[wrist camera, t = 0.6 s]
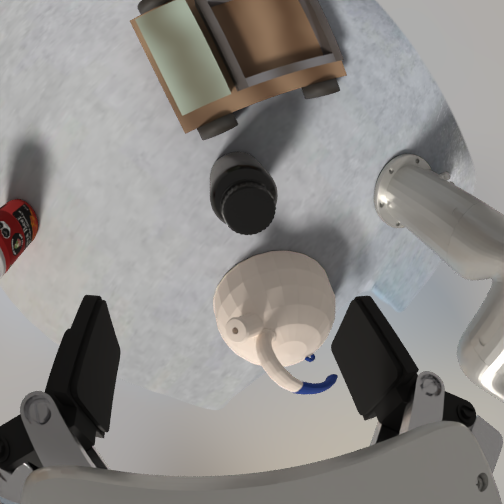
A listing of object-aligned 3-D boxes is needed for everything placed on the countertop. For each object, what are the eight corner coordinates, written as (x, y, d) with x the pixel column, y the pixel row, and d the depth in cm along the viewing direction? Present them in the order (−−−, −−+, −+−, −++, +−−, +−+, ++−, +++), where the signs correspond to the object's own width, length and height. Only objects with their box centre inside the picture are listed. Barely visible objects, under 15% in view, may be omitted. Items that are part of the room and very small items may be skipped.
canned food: (42, 243, 34) (9, 285, 24) (9, 237, 32) (-25, 275, 22) (37, 199, 30) (-4, 234, 21) (3, 195, 28) (-38, 227, 19)
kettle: (267, 223, 38) (307, 313, 23) (350, 286, 47) (397, 363, 32) (187, 311, 45) (186, 407, 29) (275, 350, 54) (295, 428, 38)
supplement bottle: (270, 187, 35) (297, 228, 25) (223, 209, 36) (230, 257, 26) (250, 141, 32) (271, 162, 22) (200, 164, 32) (196, 196, 22)
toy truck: (284, -32, 19) (300, -55, 13) (339, 87, 29) (368, 87, 23) (132, 18, 20) (114, 1, 14) (193, 141, 31) (188, 152, 25)
